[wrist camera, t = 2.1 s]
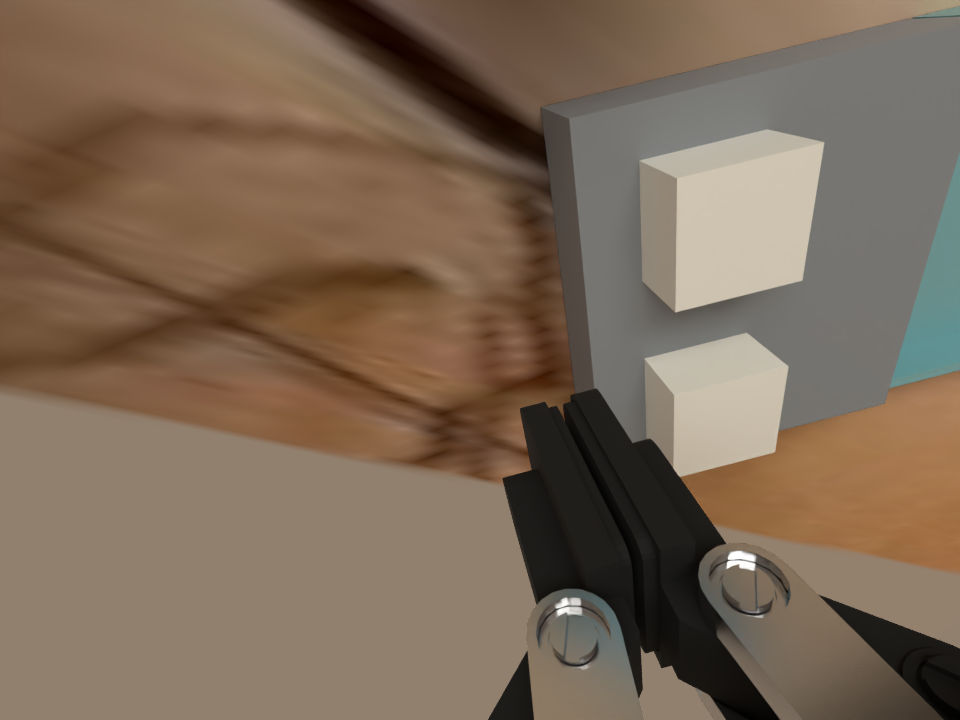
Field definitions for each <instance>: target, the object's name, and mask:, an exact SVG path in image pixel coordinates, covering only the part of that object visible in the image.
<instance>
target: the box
mask: <svg viewBox="0 0 960 720" xmlns="http://www.w3.org/2000/svg"><path fill="white" fill-rule="evenodd" d="M940 17H960V6H959V7H954V8H950V9H946V10H942V11H938V12H934V13H930V14H925V15H921V16H917V17H913V19H920V18H940ZM959 370H960V153H959V156H958V160H957V163H956V166H955V170H954V173H953V176H952V180H951V183H950V186H949V190H948V193H947V196H946V200H945V203H944V207H943V210H942V213H941V217H940V220H939V223H938V227H937V230H936V233H935V237H934V240H933V243H932V247H931V250H930V253H929V257H928V260H927V264H926V267H925V270H924V274H923V277H922V280H921V284H920V287H919V290H918V294H917V297H916V300H915V304H914V307H913V310H912V314H911V317H910V321H909V324H908V327H907V331H906V334H905V337H904V341H903V344H902V347H901V351H900V354H899V357H898V361H897V364H896V367H895V371H894V374H893V378H892V381H891V384H890V388H892V387H896V386H900V385H904V384H908V383H912V382H916V381H920V380H924V379H927V378H931V377H935V376H939V375H943V374H947V373H951V372H955V371H959Z"/></svg>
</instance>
